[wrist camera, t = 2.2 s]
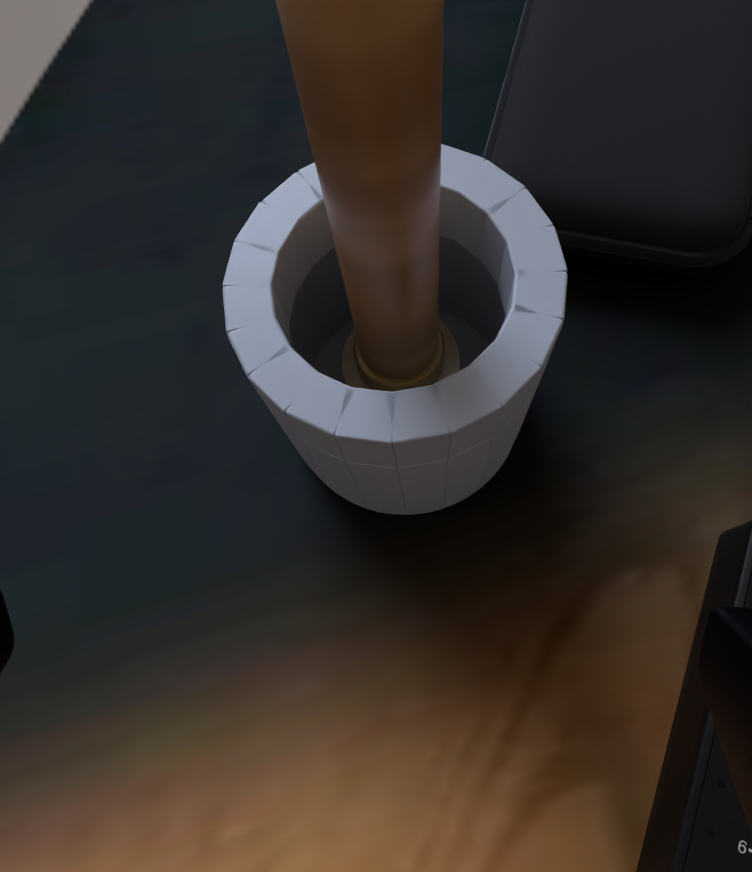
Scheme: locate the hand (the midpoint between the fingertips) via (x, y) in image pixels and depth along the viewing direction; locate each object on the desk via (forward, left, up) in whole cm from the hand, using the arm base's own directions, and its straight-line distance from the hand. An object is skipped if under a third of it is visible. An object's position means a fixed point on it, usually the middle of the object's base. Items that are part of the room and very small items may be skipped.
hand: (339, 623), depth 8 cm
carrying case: (+18, -13, -13) cm, 25 cm away
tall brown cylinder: (+8, -2, -12) cm, 14 cm away
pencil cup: (+8, -2, -12) cm, 15 cm away
